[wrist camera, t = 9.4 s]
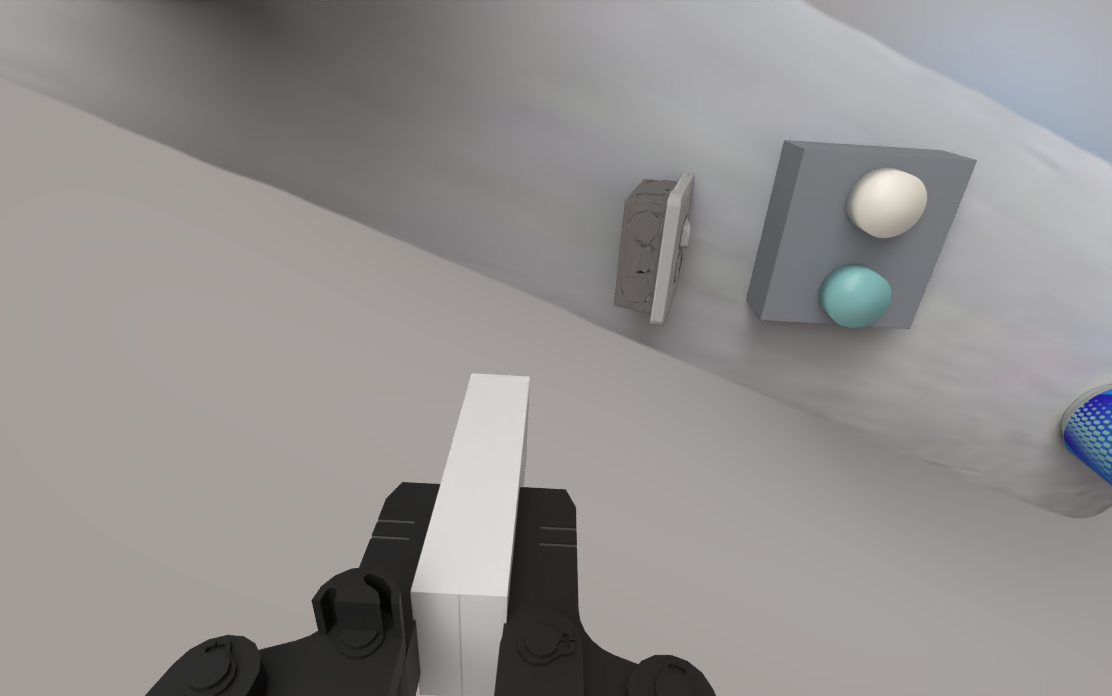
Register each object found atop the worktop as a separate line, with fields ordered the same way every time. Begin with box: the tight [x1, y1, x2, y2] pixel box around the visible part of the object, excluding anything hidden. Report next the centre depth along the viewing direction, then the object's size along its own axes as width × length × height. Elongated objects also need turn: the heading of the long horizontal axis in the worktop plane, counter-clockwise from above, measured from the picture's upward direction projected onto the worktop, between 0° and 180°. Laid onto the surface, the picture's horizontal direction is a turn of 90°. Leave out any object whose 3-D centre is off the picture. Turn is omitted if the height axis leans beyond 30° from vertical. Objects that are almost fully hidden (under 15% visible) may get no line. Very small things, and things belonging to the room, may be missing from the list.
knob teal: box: [819, 264, 891, 328], centre depth 44 cm, size 4×4×6 cm
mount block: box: [746, 140, 977, 329], centre depth 44 cm, size 13×12×4 cm
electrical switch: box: [614, 172, 694, 326], centre depth 42 cm, size 9×5×9 cm, turn 177°
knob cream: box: [846, 167, 927, 238], centre depth 41 cm, size 4×4×6 cm
